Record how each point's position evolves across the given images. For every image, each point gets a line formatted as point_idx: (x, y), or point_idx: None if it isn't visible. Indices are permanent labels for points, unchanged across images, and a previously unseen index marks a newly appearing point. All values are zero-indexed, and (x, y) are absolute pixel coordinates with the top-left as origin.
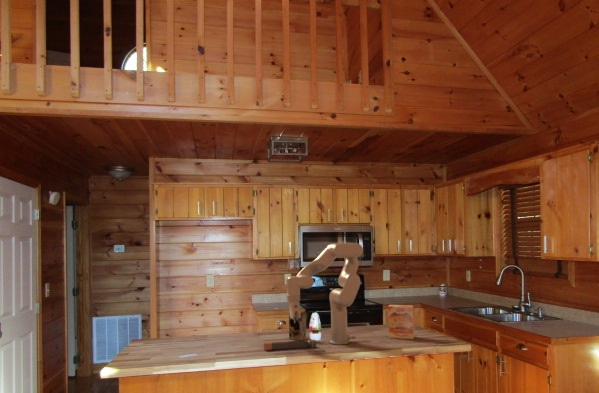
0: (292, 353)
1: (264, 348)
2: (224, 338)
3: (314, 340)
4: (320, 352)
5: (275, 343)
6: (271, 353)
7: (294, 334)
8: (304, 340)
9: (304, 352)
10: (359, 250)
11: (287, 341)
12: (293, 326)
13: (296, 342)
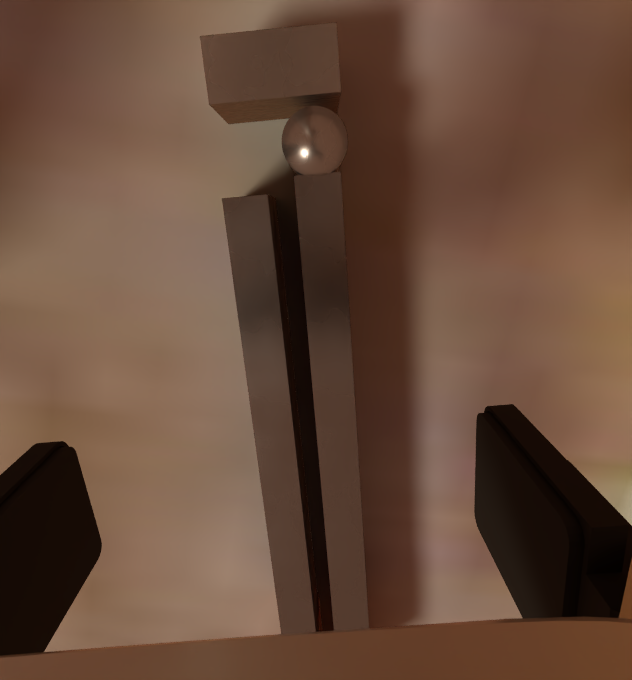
0: (547, 408)
1: None
2: None
3: (269, 40)
4: (618, 43)
5: (367, 614)
6: (481, 598)
7: None
8: (243, 222)
9: (547, 266)
10: None
11: (269, 470)
12: (87, 499)
13: (351, 361)
